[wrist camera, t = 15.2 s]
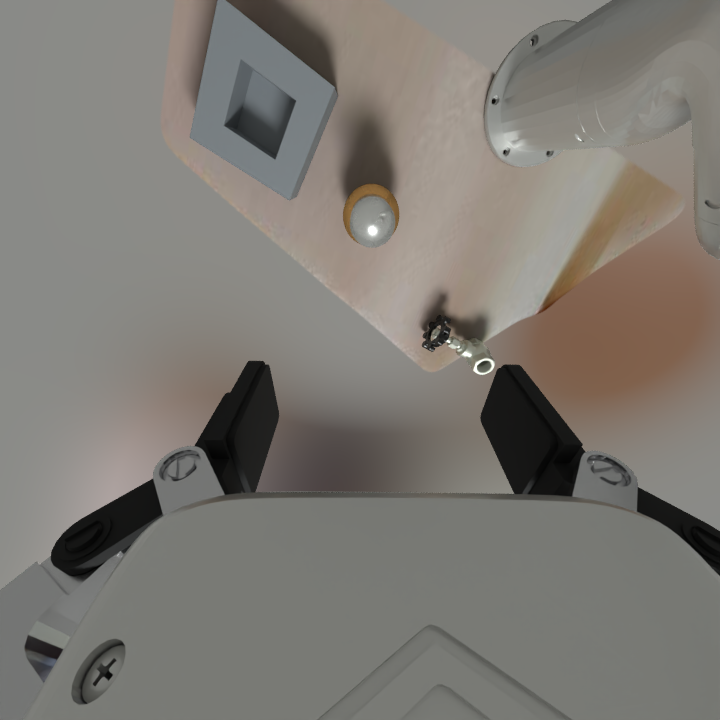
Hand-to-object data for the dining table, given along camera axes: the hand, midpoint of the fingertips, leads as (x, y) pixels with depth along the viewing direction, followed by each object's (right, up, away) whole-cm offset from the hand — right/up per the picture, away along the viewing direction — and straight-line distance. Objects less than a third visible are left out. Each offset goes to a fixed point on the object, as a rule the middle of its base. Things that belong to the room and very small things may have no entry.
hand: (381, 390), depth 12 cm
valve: (+17, +6, +41) cm, 44 cm away
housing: (-12, +31, +23) cm, 40 cm away
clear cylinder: (0, +22, +29) cm, 36 cm away
